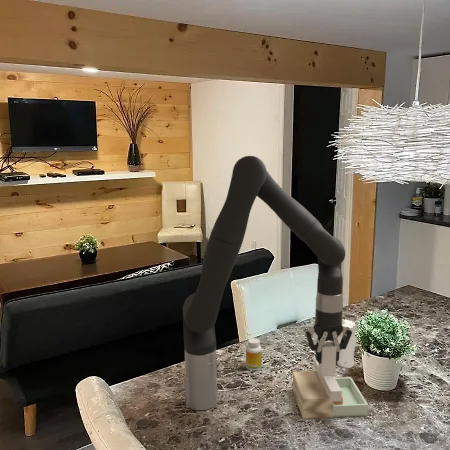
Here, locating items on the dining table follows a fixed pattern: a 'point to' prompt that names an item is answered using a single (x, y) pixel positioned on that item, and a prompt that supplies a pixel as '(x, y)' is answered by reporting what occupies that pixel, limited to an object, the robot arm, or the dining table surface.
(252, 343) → the supplement bottle
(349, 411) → the box
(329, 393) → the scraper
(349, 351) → the beer glass
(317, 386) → the tan block
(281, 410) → the dining table surface
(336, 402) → the tile front
